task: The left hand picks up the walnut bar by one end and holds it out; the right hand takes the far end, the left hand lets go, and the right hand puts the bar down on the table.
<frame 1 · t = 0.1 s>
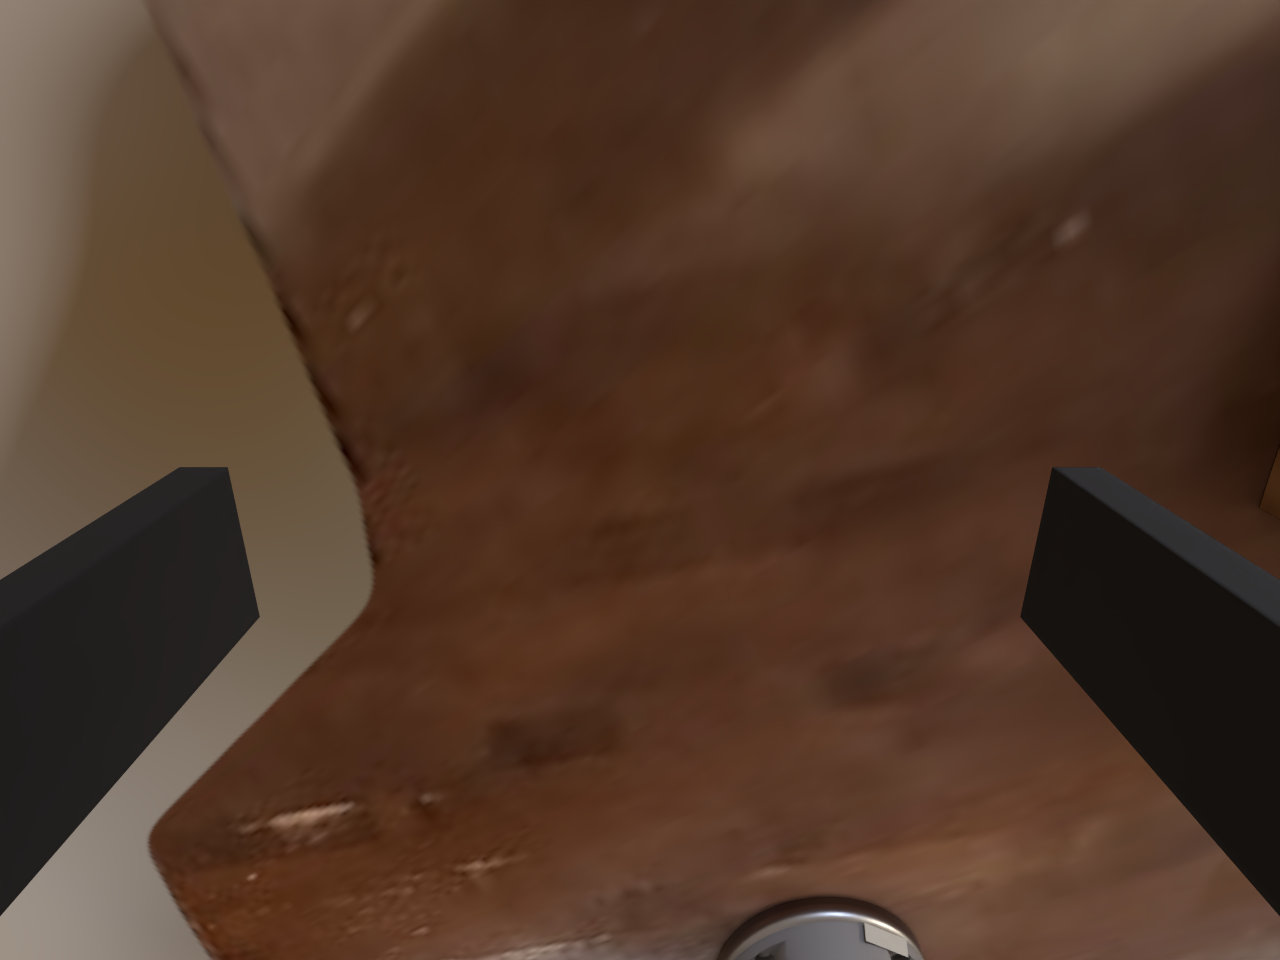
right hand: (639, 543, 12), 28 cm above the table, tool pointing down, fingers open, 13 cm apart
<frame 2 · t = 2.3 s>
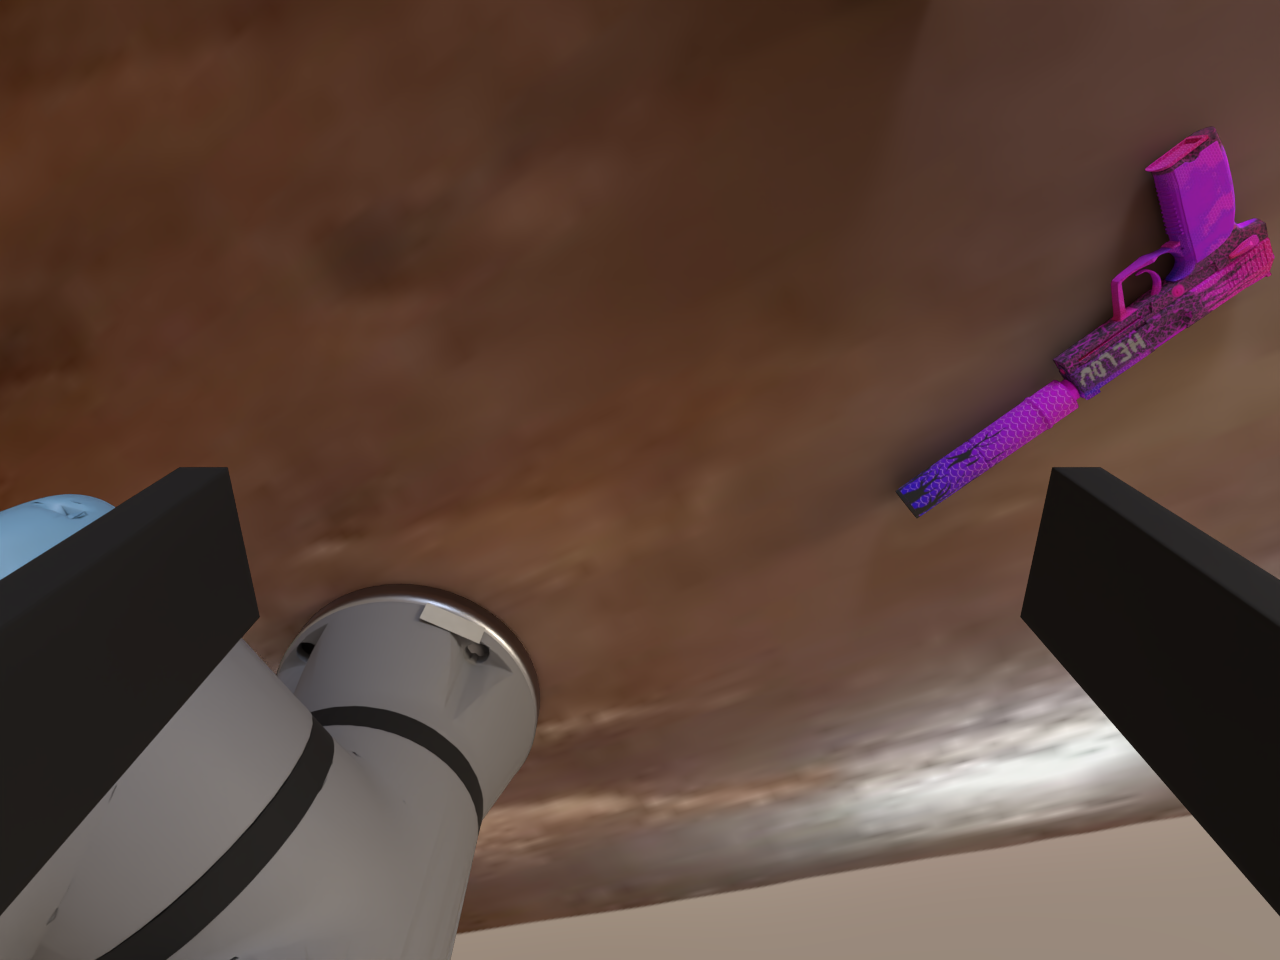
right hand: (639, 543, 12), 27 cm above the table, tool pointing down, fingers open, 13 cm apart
handgun: (1063, 330, 38), on the table
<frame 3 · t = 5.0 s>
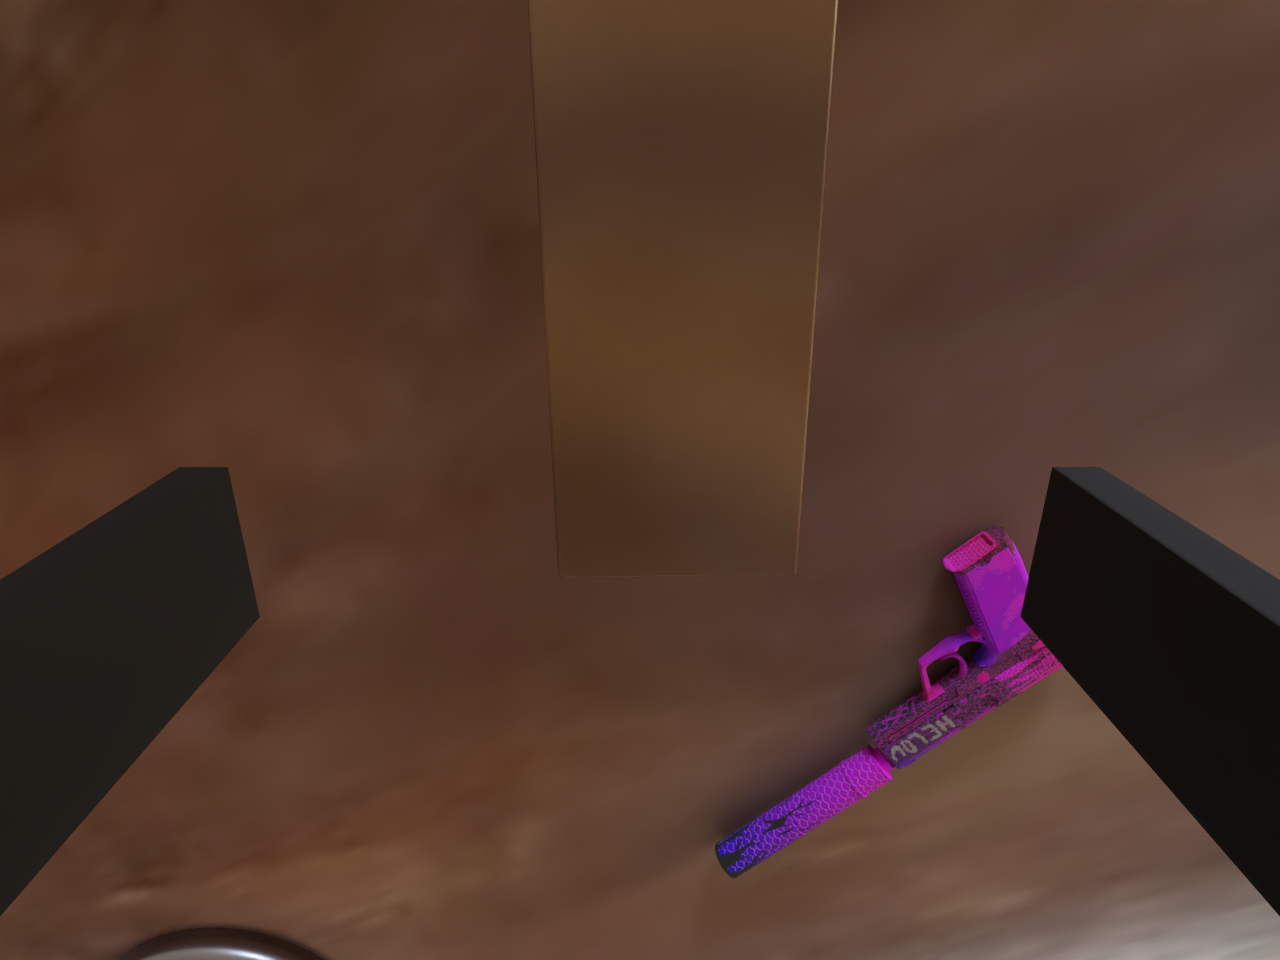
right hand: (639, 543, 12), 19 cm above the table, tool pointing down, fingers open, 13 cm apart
handgun: (876, 696, 37), on the table
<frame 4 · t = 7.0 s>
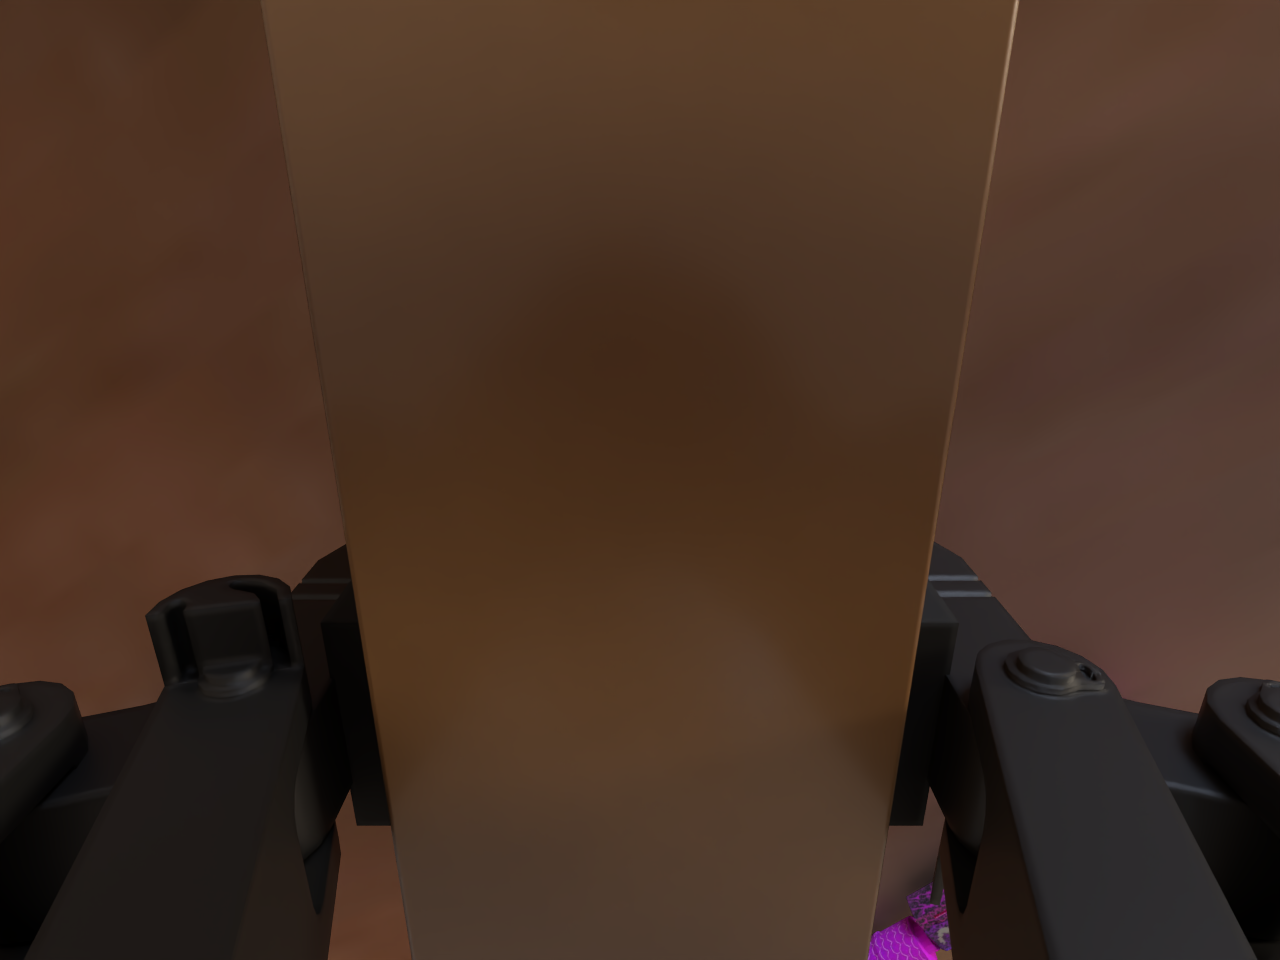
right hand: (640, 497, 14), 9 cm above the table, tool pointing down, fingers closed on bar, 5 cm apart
handgun: (919, 858, 30), on the table
when the left hand's fingers open (12 cm above the table, at t = 7.9 s): bar stays where it is, held by the right hand.
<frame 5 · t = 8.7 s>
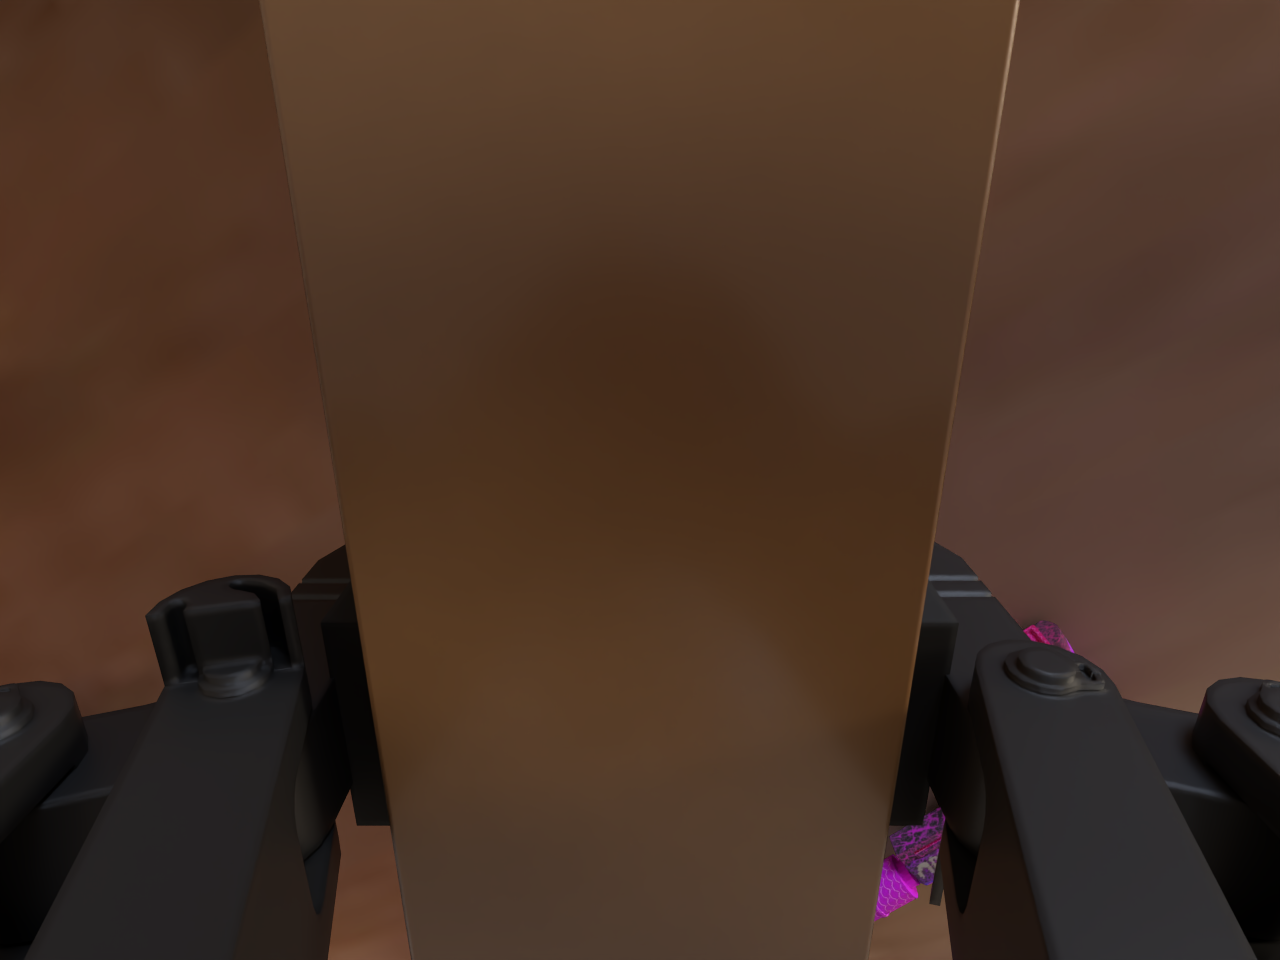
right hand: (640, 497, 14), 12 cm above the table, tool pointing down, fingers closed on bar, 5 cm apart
handgun: (901, 801, 32), on the table
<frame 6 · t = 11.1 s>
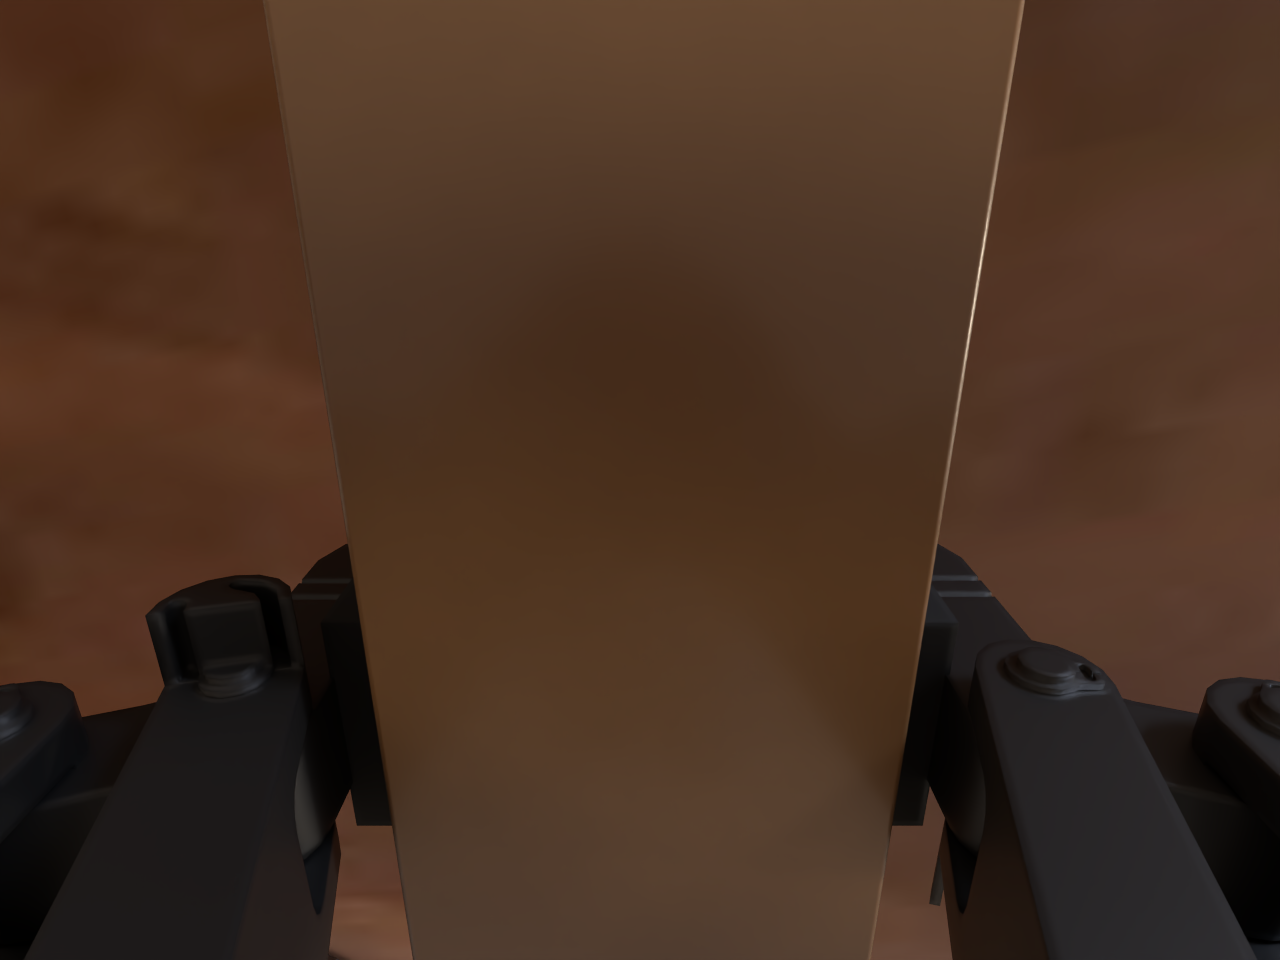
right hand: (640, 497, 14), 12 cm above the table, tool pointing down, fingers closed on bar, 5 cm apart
when the right hand's fingers open (2 cm above the table, at t = 15.3 s): bar drops 2 cm, on the table.
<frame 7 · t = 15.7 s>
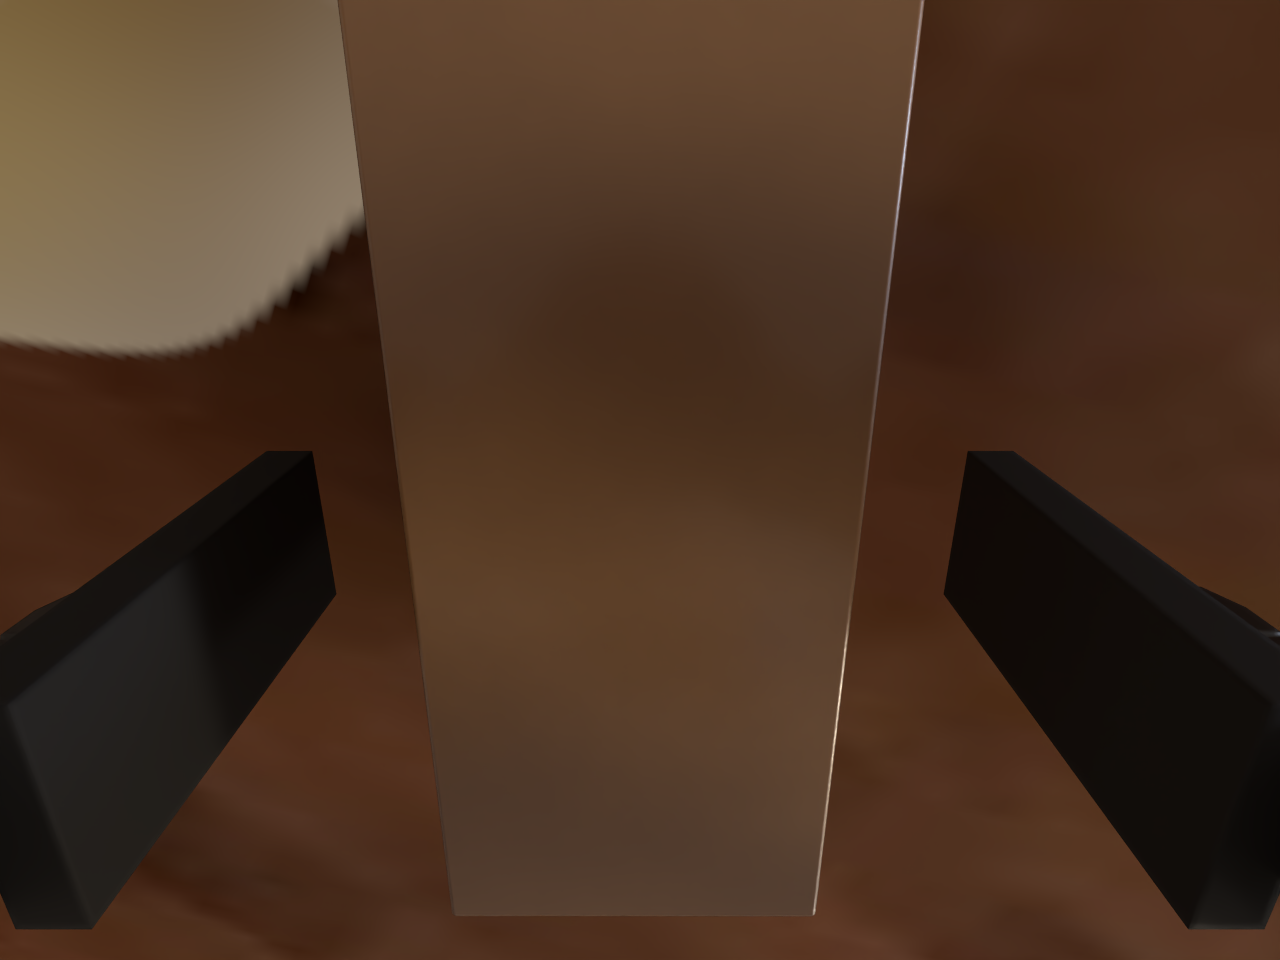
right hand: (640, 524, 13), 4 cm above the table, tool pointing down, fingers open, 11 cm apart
bar: (635, 16, 13), on the table
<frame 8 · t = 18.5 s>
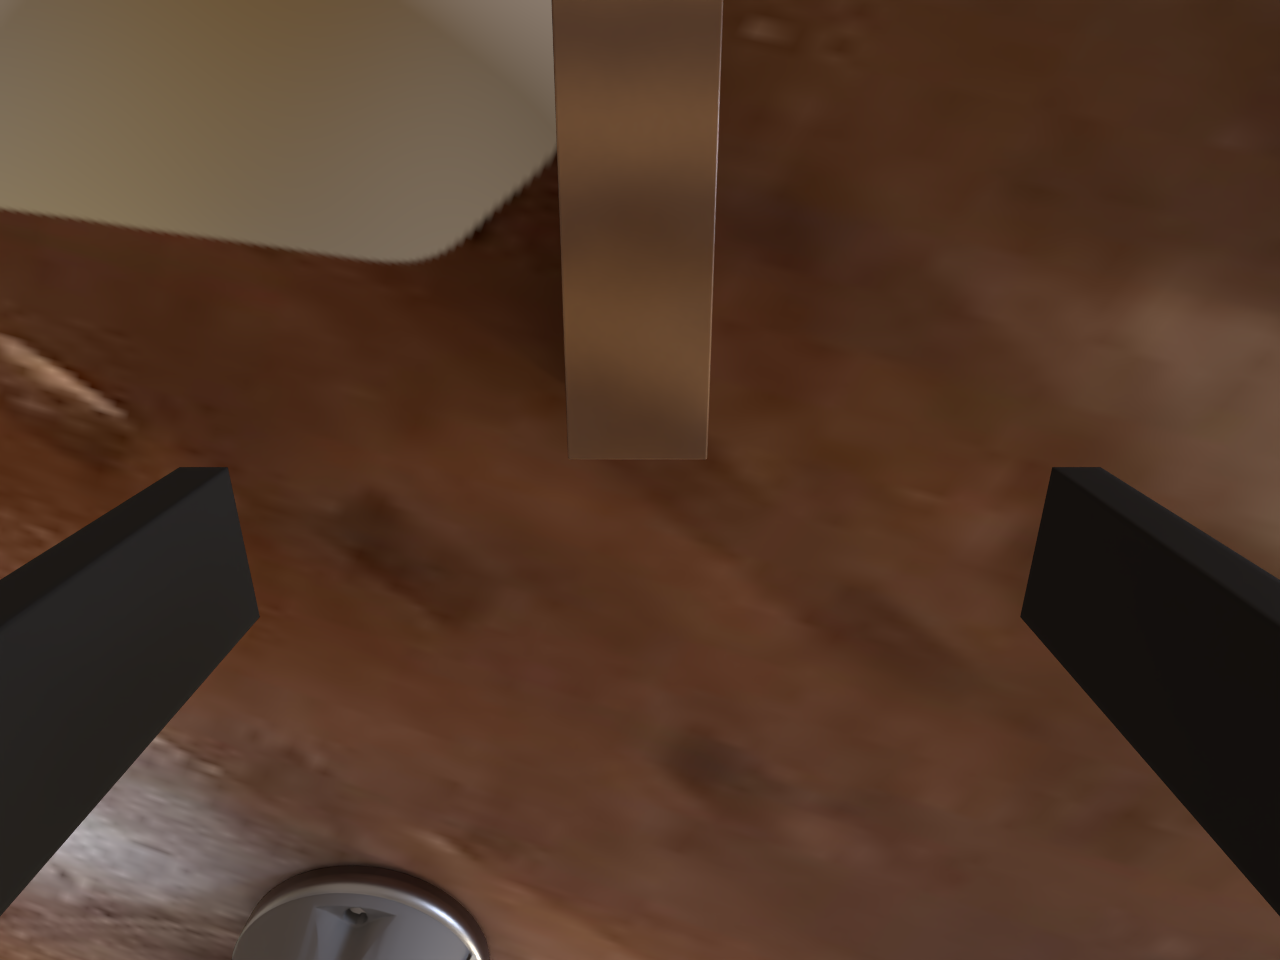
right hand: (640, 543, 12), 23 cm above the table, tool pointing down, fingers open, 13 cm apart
bar: (638, 106, 30), on the table
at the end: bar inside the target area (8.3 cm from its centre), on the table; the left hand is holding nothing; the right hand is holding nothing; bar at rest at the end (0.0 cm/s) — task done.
